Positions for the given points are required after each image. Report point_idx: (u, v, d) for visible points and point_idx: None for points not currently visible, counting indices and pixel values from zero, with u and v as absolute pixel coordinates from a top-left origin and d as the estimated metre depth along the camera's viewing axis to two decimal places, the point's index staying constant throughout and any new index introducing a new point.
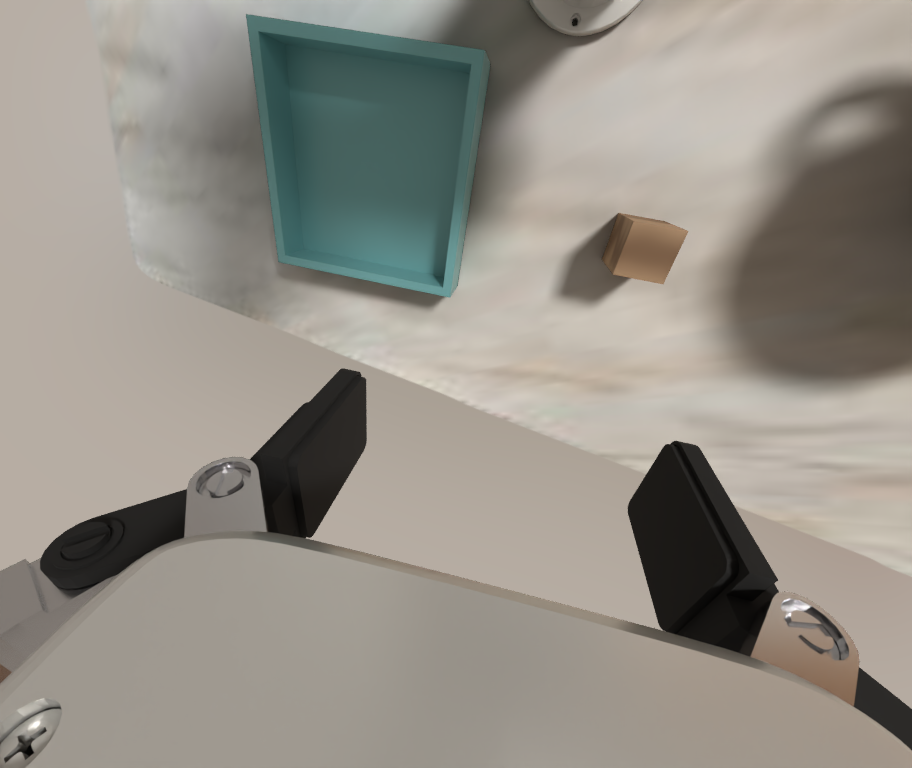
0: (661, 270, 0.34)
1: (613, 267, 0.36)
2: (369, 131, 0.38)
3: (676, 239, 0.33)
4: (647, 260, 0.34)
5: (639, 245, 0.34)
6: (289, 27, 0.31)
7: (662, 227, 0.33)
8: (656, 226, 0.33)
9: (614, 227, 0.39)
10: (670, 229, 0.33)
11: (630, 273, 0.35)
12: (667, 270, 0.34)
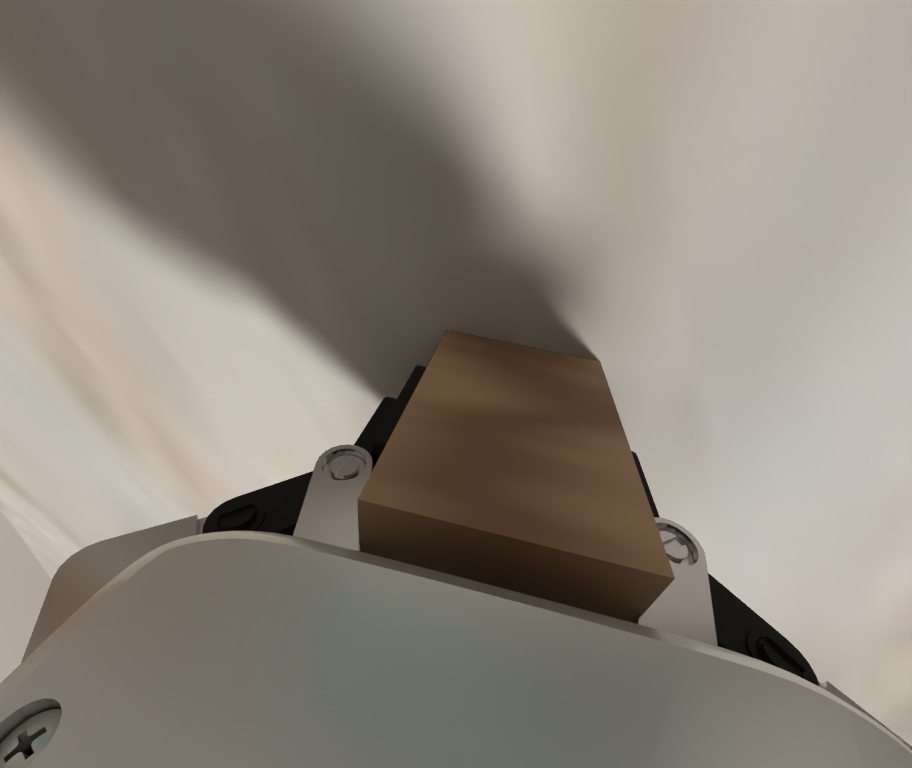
0: None
1: (403, 470, 0.06)
2: None
3: None
4: None
5: (526, 590, 0.06)
6: None
7: None
8: None
9: (555, 360, 0.11)
10: None
11: None
12: None
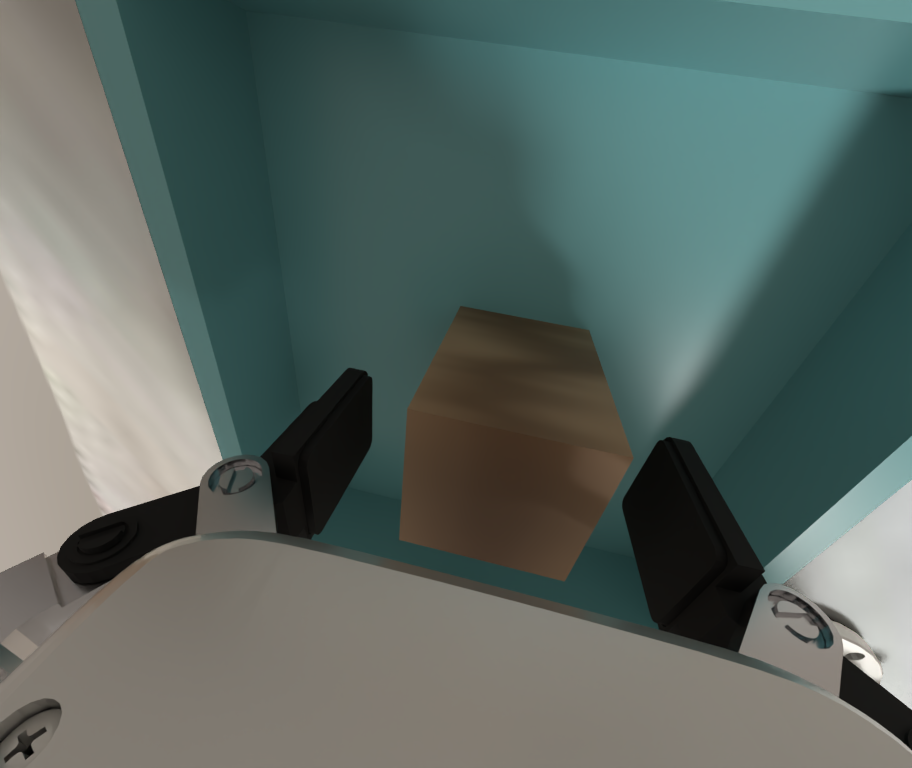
0: (441, 535, 0.10)
1: (437, 394, 0.09)
2: (612, 371, 0.14)
3: (541, 561, 0.10)
4: (473, 503, 0.09)
5: (529, 480, 0.08)
6: None
7: (587, 532, 0.09)
8: (594, 519, 0.09)
9: (552, 328, 0.13)
10: (577, 549, 0.09)
11: (418, 462, 0.09)
12: (442, 547, 0.10)
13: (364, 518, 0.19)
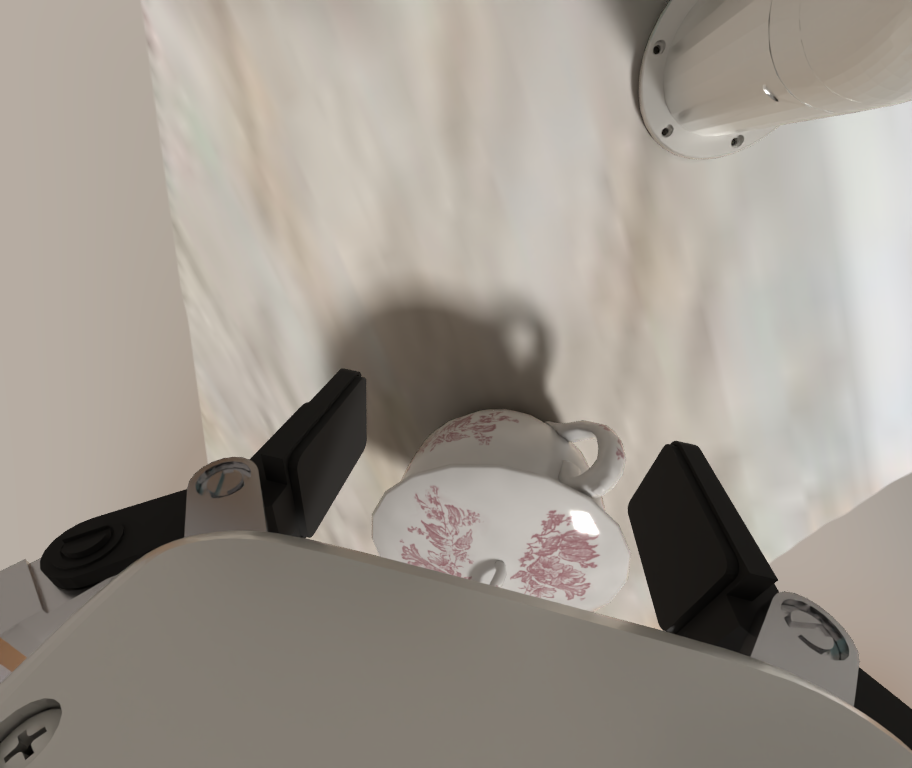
0: None
1: None
2: None
3: None
4: None
5: None
6: None
7: None
8: None
9: None
10: None
11: None
12: None
13: None
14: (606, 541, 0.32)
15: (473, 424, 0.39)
